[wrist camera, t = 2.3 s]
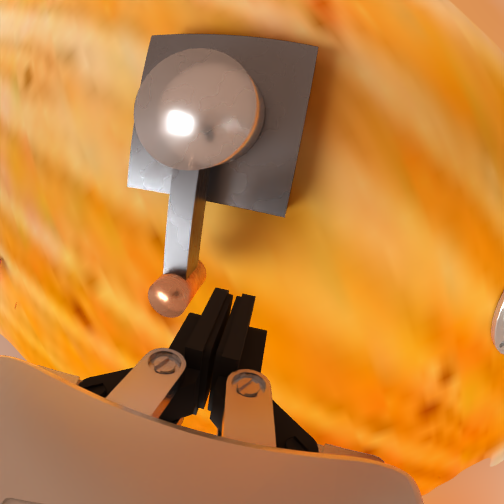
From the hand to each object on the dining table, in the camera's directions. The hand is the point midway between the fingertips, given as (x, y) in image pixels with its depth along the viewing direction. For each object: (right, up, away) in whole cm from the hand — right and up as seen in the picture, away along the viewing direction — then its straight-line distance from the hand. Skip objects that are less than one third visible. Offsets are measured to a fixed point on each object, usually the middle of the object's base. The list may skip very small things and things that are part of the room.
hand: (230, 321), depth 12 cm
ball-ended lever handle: (-3, +8, +7) cm, 11 cm away
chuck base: (-1, +13, +9) cm, 16 cm away
